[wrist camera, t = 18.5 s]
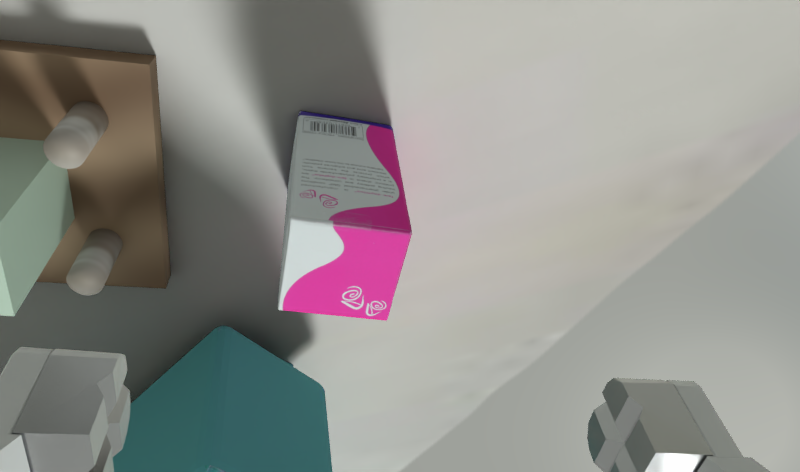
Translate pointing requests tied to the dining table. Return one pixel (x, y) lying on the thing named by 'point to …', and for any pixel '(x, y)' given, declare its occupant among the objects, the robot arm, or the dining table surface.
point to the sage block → (29, 217)
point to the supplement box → (343, 219)
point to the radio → (228, 414)
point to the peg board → (95, 157)
